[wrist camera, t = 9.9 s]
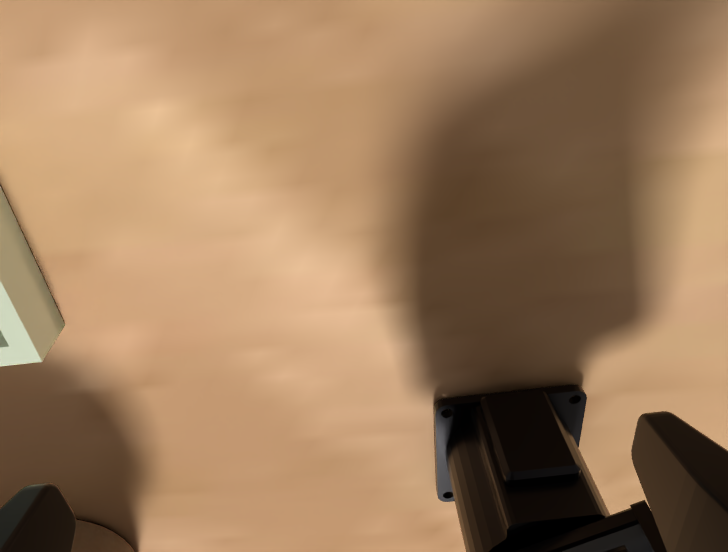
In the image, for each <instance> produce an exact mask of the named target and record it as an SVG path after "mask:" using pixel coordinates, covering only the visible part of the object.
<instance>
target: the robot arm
mask: <svg viewBox="0 0 728 552" xmlns="http://www.w3.org/2000/svg"><path fill="white" fill-rule="evenodd" d="M572 396H574V397H572ZM586 400H587V397H586V394H585V392H584V390H583V388H582V387H581V386H579V385H564V386H555V387H545V388H536V389H527V390H518V391H509V392H499V393H490V394H481V395H472V396H463V397H453V398H445V399H441V400H439V401H437V402H436V404H435V405H434V431H435V462H436V490H437V495H438V498H439V499H440V500H441V501H444V502H450V501H455V504H456V509H457V513H458V518H459V522H460V527H461V531H462V535H463V540H464V544H465V549H466V552H728V451H727V450H726V449H725V448H723V447H722V446H720V445H719V444H717V443H716V442H714V441H713V440H711V439H710V438H708V437H707V436H705V435H704V434H702V433H701V432H699V431H698V430H696V429H695V428H693V427H692V426H690V425H689V424H688V423H686V422H685V421H683V420H682V419H680V418H679V417H677V416H676V415H674V414H672V413H670V412H666V411H662V412H653V413H645V414H642V415H641V416H640V417H639V419H638V422H637V427H636V432H635V436H634V441H633V445H632V460H633V464H634V467H635V470H636V472H637V475H638V478H639V480H640V483H641V485H642V488H643V491H644V493H645V496H646V499H647V501H648V504H649V506H650V508H649V507H648V505H647V503H646V501H645V500H643V501H640V502H637V503H635V504H632V505H630V506H631V508H629V509H626V510H624V511H621V512H618V513H615V514H613V515H610V514H609V511H608V509H607V507H606V505H605V503H604V501H603V499H602V497H601V495H600V493H599V490H598V488H597V486H596V484H595V482H594V480H593V478H592V476H591V474H590V472H589V469H588V467H587V465H586V463H585V461H584V459H583V457H582V455H581V453H580V451H579V449H578V447H579V441H580V435H581V429H582V423H583V418H584V412H585V406H586ZM446 409H449V410H447V411H443V410H446ZM650 509H651V510H650ZM75 533H76V518H75V514H74V512H73V510H72V509H71V507H70V505H69V504H68V502H67V500H66V499H65V497H64V495H63V494H62V492H61V490H60V489H59V487H58V486H57V485H55V484H53V483H43V484H35V485H29V486H26V487H24V488H23V489H21V490H20V491H19V492H18V493H17V494H16V495H15V496H14V497H13V498H11V499H10V500H9V501H8V502H7V503H6V504H5V505H4V506H3V507H2V508H1V509H0V552H72V547H73V542H74V537H75Z"/></svg>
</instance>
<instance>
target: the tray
mask: <svg viewBox="0 0 728 552" xmlns="http://www.w3.org/2000/svg"><path fill="white" fill-rule="evenodd" d="M64 326H65V323H64V321H63V319H62V317H61V315H60V313H59V311H58V308H57V306H56V304H55V302H54V300H53V298H52V296H51V293H50V291H49V289H48V287H47V285H46V283H45V280H44V278H43V276H42V274H41V272H40V270H39V268H38V265H37V263H36V261H35V259H34V257H33V255H32V253H31V250H30V248H29V246H28V244H27V242H26V240H25V237H24V235H23V233H22V231H21V229H20V227H19V225H18V222H17V220H16V218H15V216H14V214H13V212H12V210H11V207H10V205H9V203H8V201H7V199H6V197H5V194H4V192H3V190H2V188H1V186H0V366H9V365H18V364H27V363H37V362H42V361H43V360H44V358H45V357H46V355H47V353H48V352H49V350H50V349H51V347H52V345H53V344H54V342H55V340H56V339H57V337H58V336H59V334H60V332H61V331H62V329H63V328H64Z"/></svg>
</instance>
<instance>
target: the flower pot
mask: <svg viewBox="0 0 728 552" xmlns="http://www.w3.org/2000/svg"><path fill="white" fill-rule="evenodd" d="M72 552H134V550H133V549H132V547H131V546H130V545H129V544H128V543H127V542H126V541H125V540H124V539H123V538H122V537H120V536H119V535H117V534H116V533H114V532H113V531H111V530H109V529H107V528H104V527H102V526H99V525H96V524H93V523H90V522H85V521H81V520H76V533H75V537H74V542H73V547H72Z"/></svg>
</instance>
